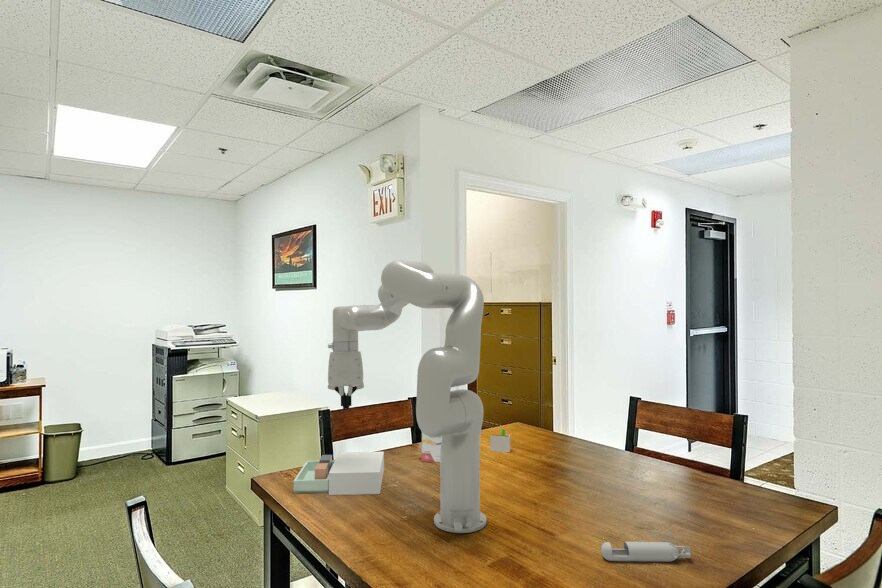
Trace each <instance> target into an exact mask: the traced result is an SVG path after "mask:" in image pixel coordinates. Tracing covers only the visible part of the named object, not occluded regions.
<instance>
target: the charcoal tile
mask: <svg viewBox="0 0 882 588" xmlns="http://www.w3.org/2000/svg"><path fill="white" fill-rule="evenodd" d="M318 461H319V463H328V475H329V472H330V470H331V468H332V461H333V454H322V455H321V457H320V459H319V460H318Z"/></svg>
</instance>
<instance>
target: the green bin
mask: <svg viewBox="0 0 882 588" xmlns="http://www.w3.org/2000/svg"><path fill="white" fill-rule="evenodd" d="M335 460H336V459H333V460H332V466H333V464H334V462H335ZM318 463H319V460H307V461H305V463H304V464H303V466H302V467H301V469H300V470H299V472H298V473H297V474H296V477H295V478H294V479H293V494H323V493H324V494H326V493H328V494H329V475H328V477H327V479H317V480H315V468H316V466H317V464H318Z"/></svg>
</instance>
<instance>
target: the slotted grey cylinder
mask: <svg viewBox="0 0 882 588" xmlns="http://www.w3.org/2000/svg"><path fill="white" fill-rule="evenodd" d="M669 534H670V535H669V542H667V541H665V542H664V541H624V542H623V548H612V544H611V542H609V541H605V542H603V544H601V548H600V554H601V555H602V557H603V558H604V559H605V560H607V561H608V562H647V563H648V562H652V563H654V562H655V563H656V562H657V563H658V562H659V563H660V562H661V563H663V562H665V563H666V562H667V563H671V562H674V561H675V560H677V559H685V558H687V559H689V558H690V559H691V546H685V545H675V544H673V543H672V528H669Z"/></svg>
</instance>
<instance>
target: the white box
mask: <svg viewBox="0 0 882 588" xmlns="http://www.w3.org/2000/svg"><path fill="white" fill-rule="evenodd" d="M334 460H335V462H334V464H333V466H332V468H331V470H330V472H329V492H328V496H345V495H346V496H347V495H348V496H350V495H351V496H352V495H354V496H355V495H356V496H358V495H380V494H381V489H382V483H383V478H384V473H385V472H384V471H385V451H349V452H348V451H345V452H344V451H341V452H338V454H337V456H336V458H335V459H334Z"/></svg>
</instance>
